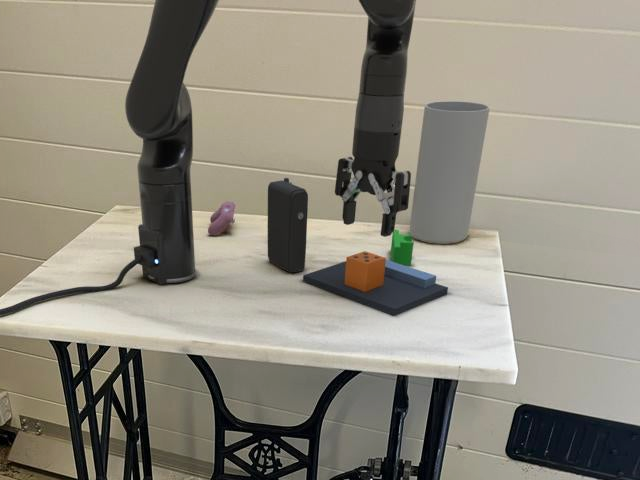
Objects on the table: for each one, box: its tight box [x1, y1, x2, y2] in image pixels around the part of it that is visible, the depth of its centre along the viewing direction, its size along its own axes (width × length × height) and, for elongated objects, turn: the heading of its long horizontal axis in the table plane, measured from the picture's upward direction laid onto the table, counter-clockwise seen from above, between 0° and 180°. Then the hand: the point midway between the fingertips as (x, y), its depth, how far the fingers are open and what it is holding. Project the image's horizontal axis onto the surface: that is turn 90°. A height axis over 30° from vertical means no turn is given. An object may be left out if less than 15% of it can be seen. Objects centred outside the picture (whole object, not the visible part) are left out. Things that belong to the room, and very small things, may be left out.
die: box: [344, 250, 387, 292], centre depth 130 cm, size 5×5×5 cm
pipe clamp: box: [390, 229, 414, 267], centre depth 145 cm, size 11×4×5 cm, turn 173°
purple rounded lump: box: [207, 200, 236, 236], centre depth 161 cm, size 10×5×7 cm, turn 179°
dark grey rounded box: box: [267, 180, 309, 273], centre depth 139 cm, size 9×4×15 cm, turn 31°
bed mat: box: [302, 259, 449, 316], centre depth 133 cm, size 15×22×3 cm
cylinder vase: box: [408, 100, 491, 245], centre depth 151 cm, size 12×12×25 cm
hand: (367, 229), depth 126 cm, fingers open, 8 cm apart
